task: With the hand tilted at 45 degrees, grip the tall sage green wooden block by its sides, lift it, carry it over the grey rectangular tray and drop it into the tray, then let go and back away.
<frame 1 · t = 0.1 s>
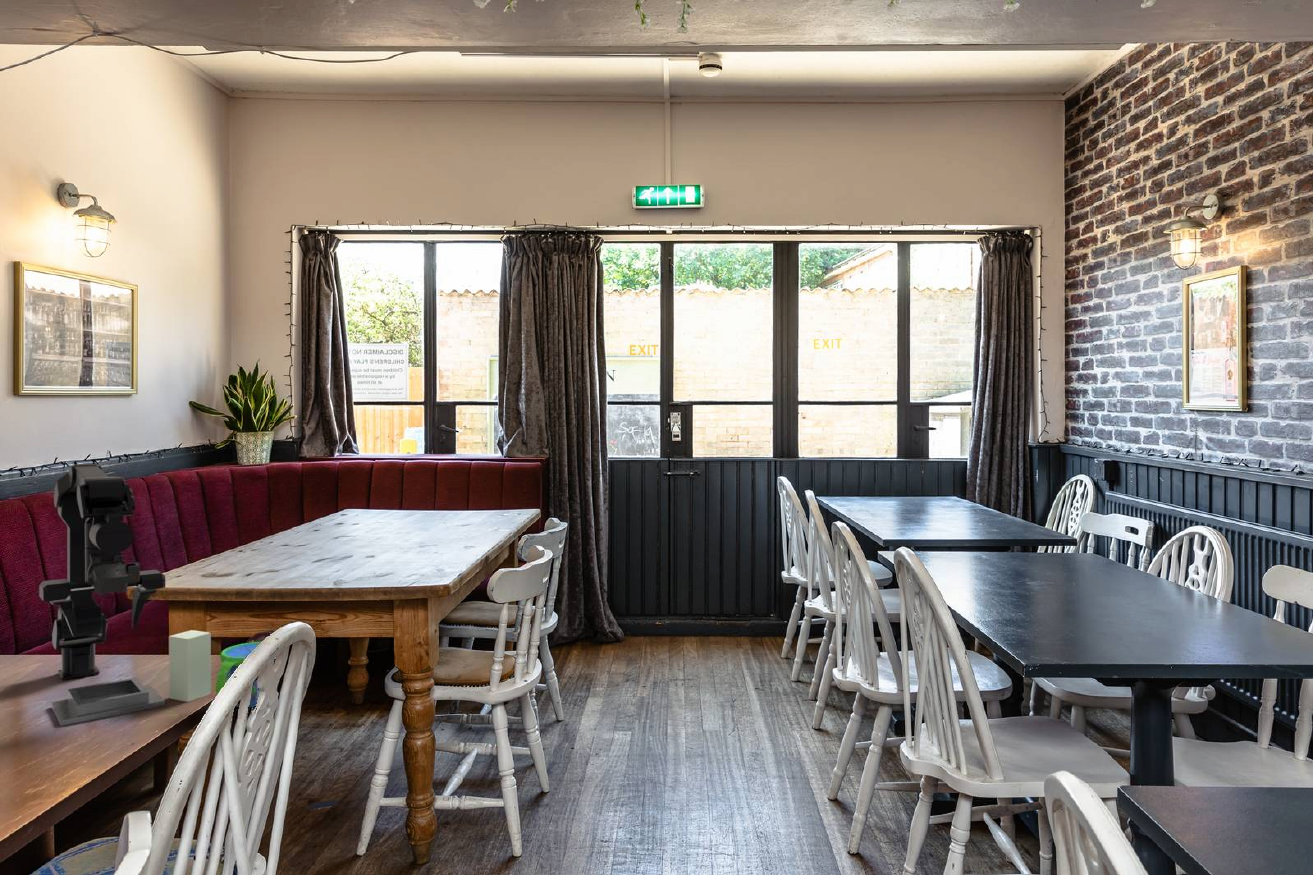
hand: (104, 631, 155), 15 cm above the table, tool pointing down, fingers open, 9 cm apart
sage block: (190, 696, 164), on the table
snack cup: (252, 703, 161), on the table
icecream: (264, 662, 187), on the table
grey rectangular tray: (108, 706, 158), on the table
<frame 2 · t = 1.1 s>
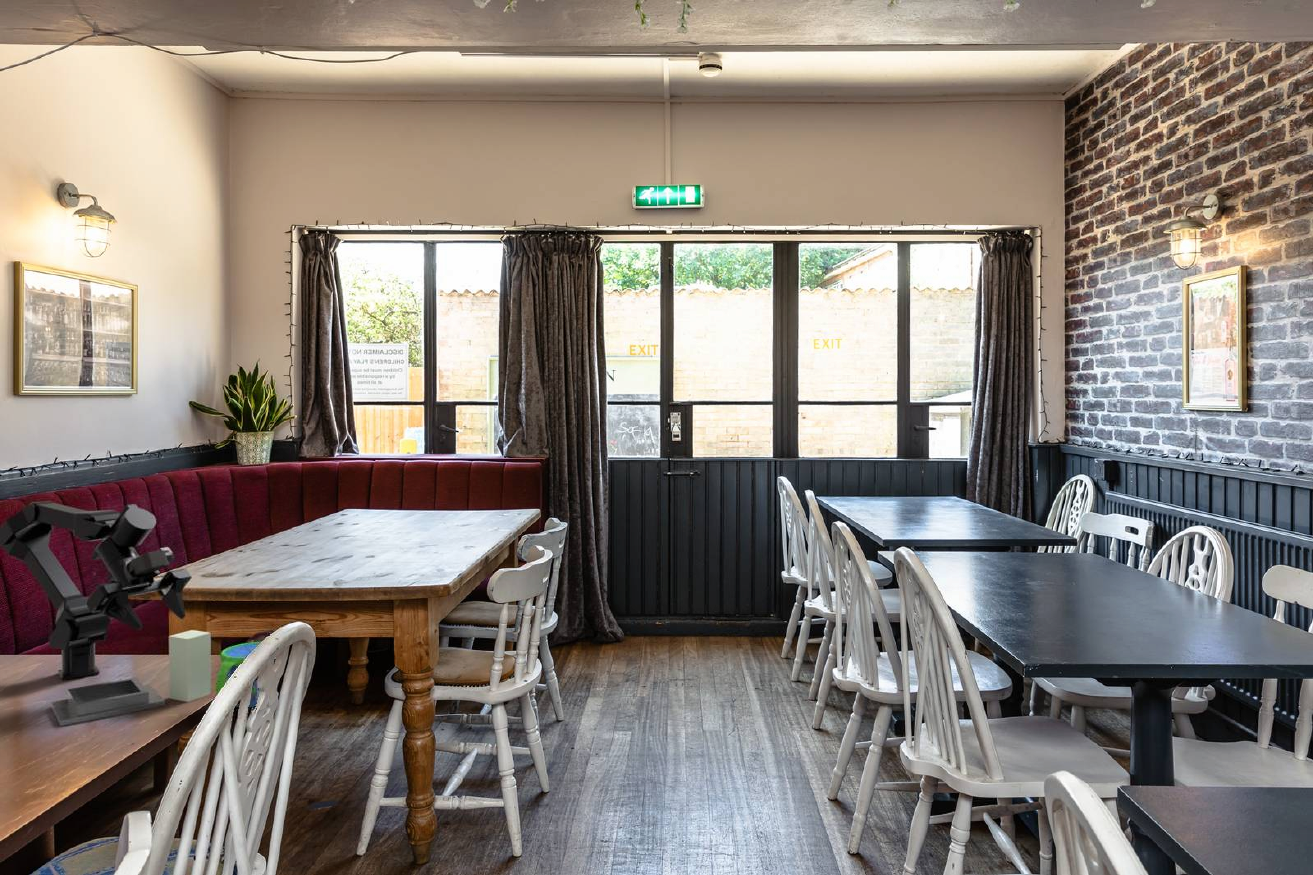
hand: (162, 623, 167), 13 cm above the table, tool tilted 45°, fingers open, 9 cm apart
nothing on the table moved.
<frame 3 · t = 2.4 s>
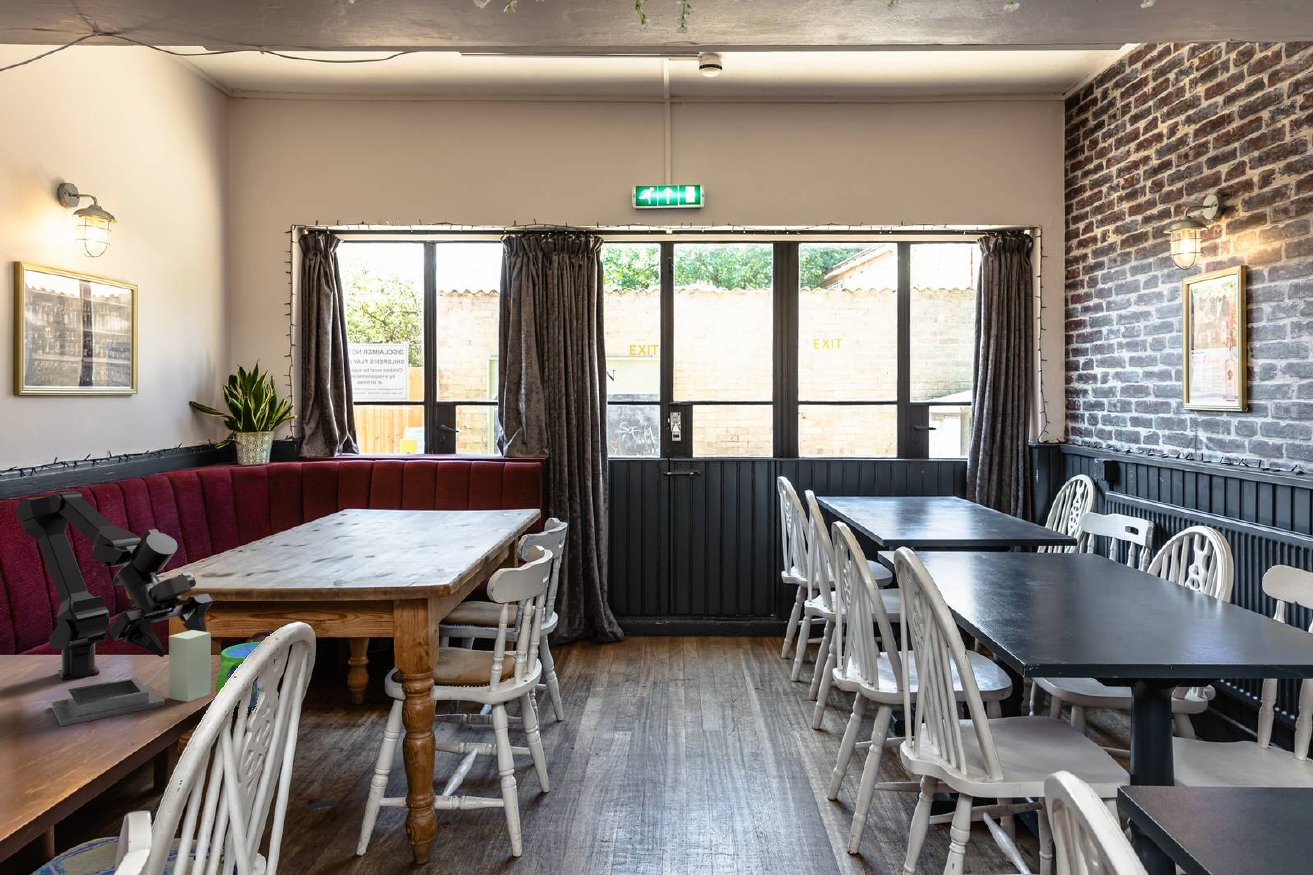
hand: (185, 649, 164), 9 cm above the table, tool tilted 45°, fingers open, 9 cm apart
nothing on the table moved.
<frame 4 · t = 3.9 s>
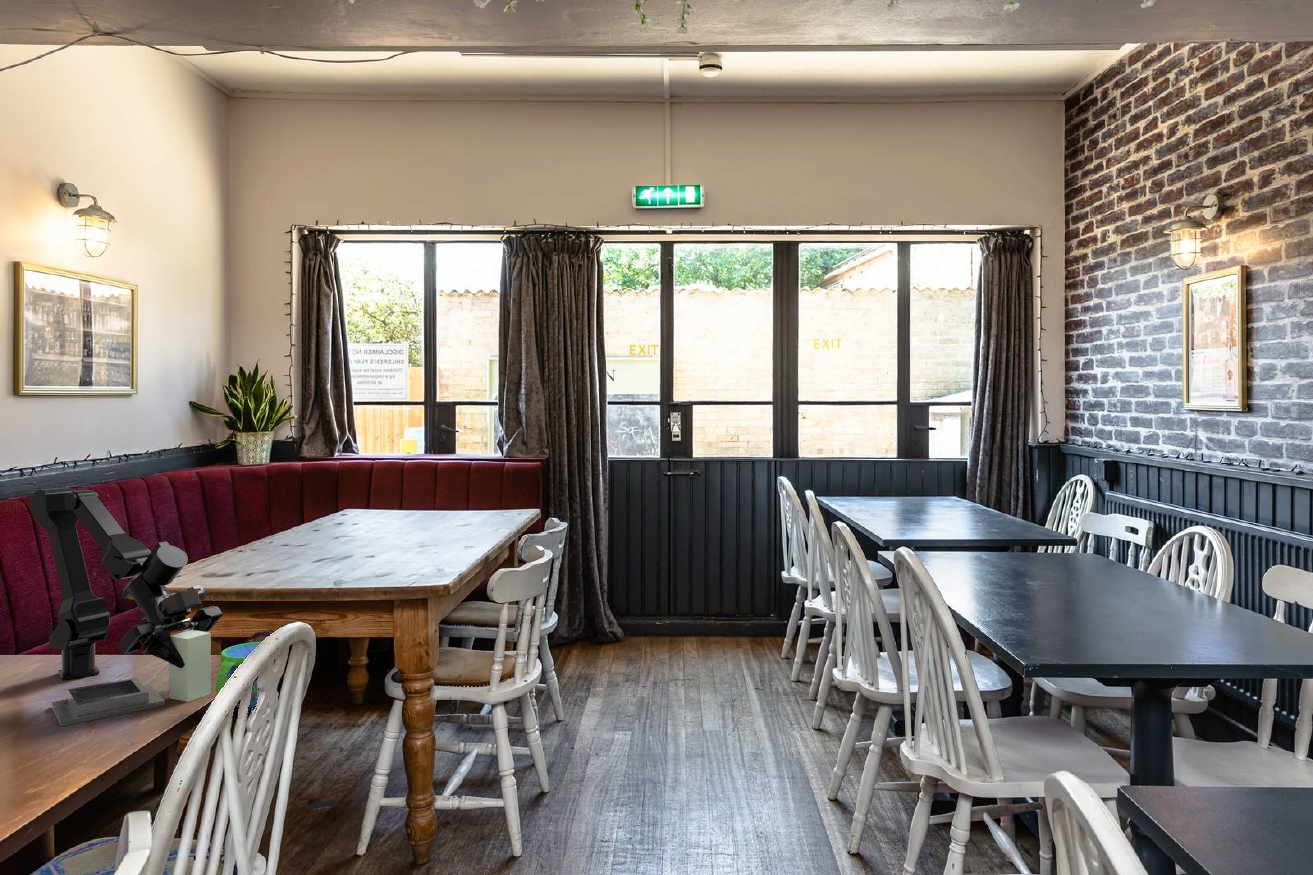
hand: (195, 663, 163), 7 cm above the table, tool tilted 45°, fingers closed on sage block, 5 cm apart
sage block: (190, 696, 164), on the table, touching gripper
everything else where it was.
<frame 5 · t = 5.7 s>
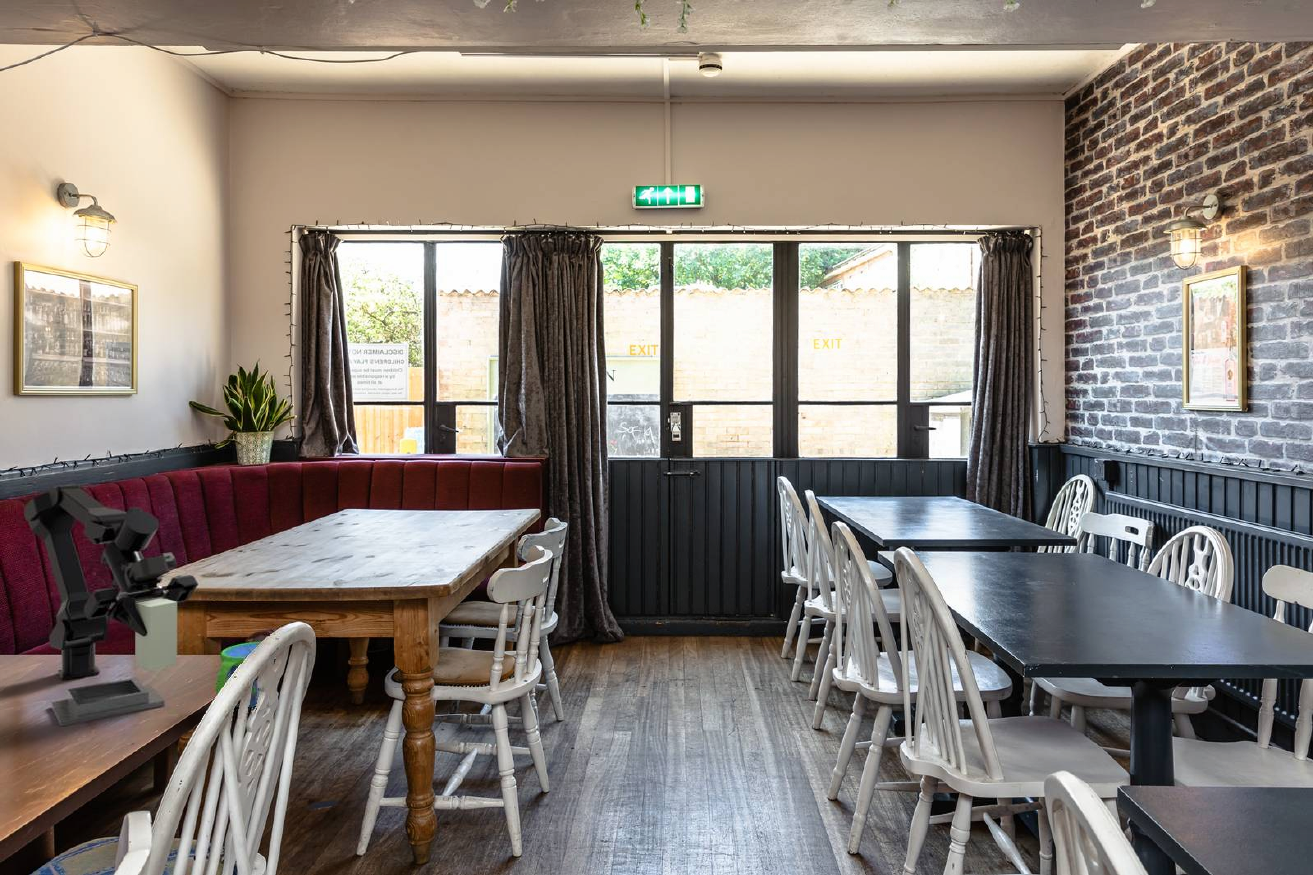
hand: (160, 632, 160), 13 cm above the table, tool tilted 45°, fingers closed on sage block, 5 cm apart
sage block: (156, 665, 161), point 7 cm above the table, touching gripper
when the fingers open (10 cm above the table, at t = 7.6 s): sage block drops 2 cm, resting on grey rectangular tray.
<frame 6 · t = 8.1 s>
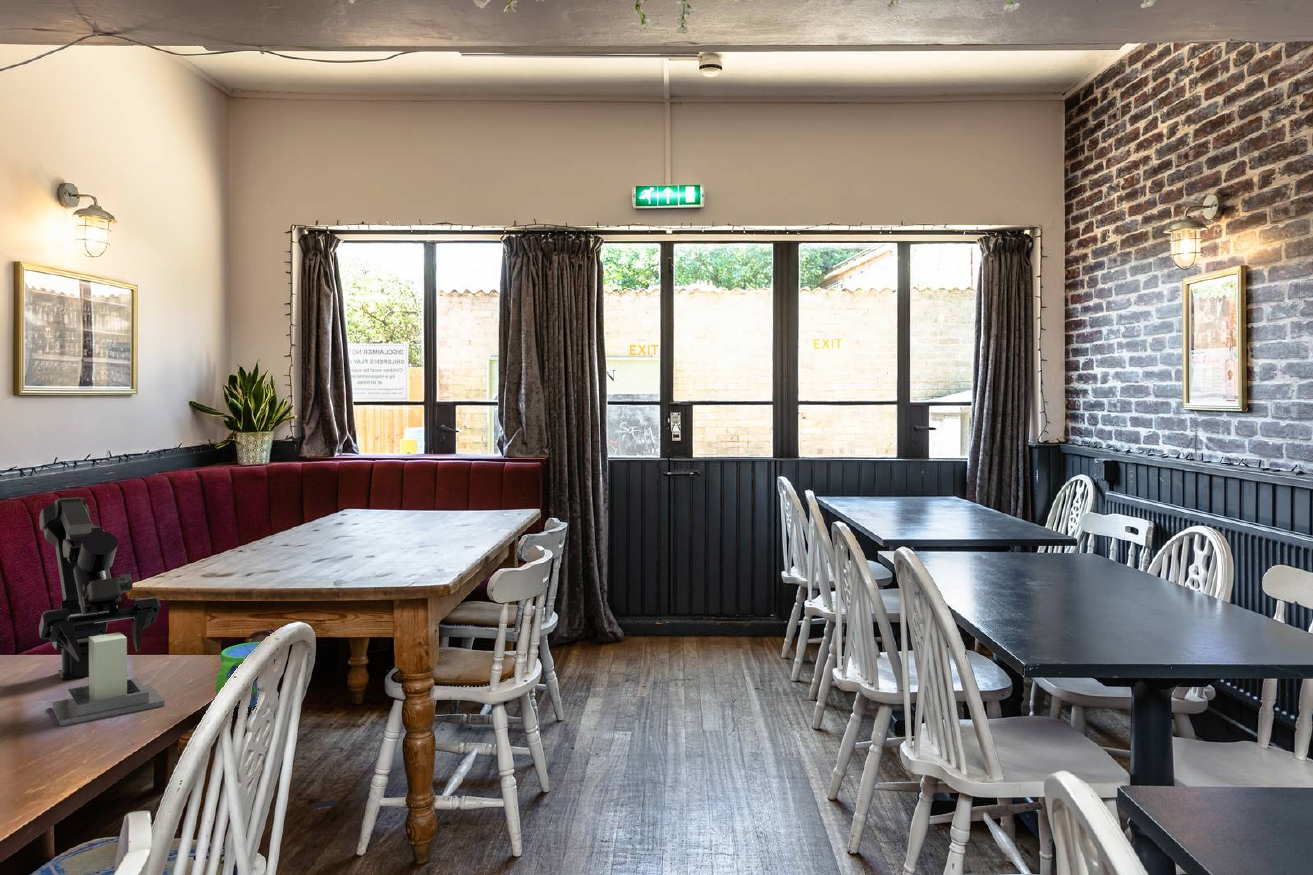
hand: (109, 655, 156), 10 cm above the table, tool tilted 45°, fingers open, 9 cm apart
sage block: (108, 701, 158), point 1 cm above the table, touching grey rectangular tray
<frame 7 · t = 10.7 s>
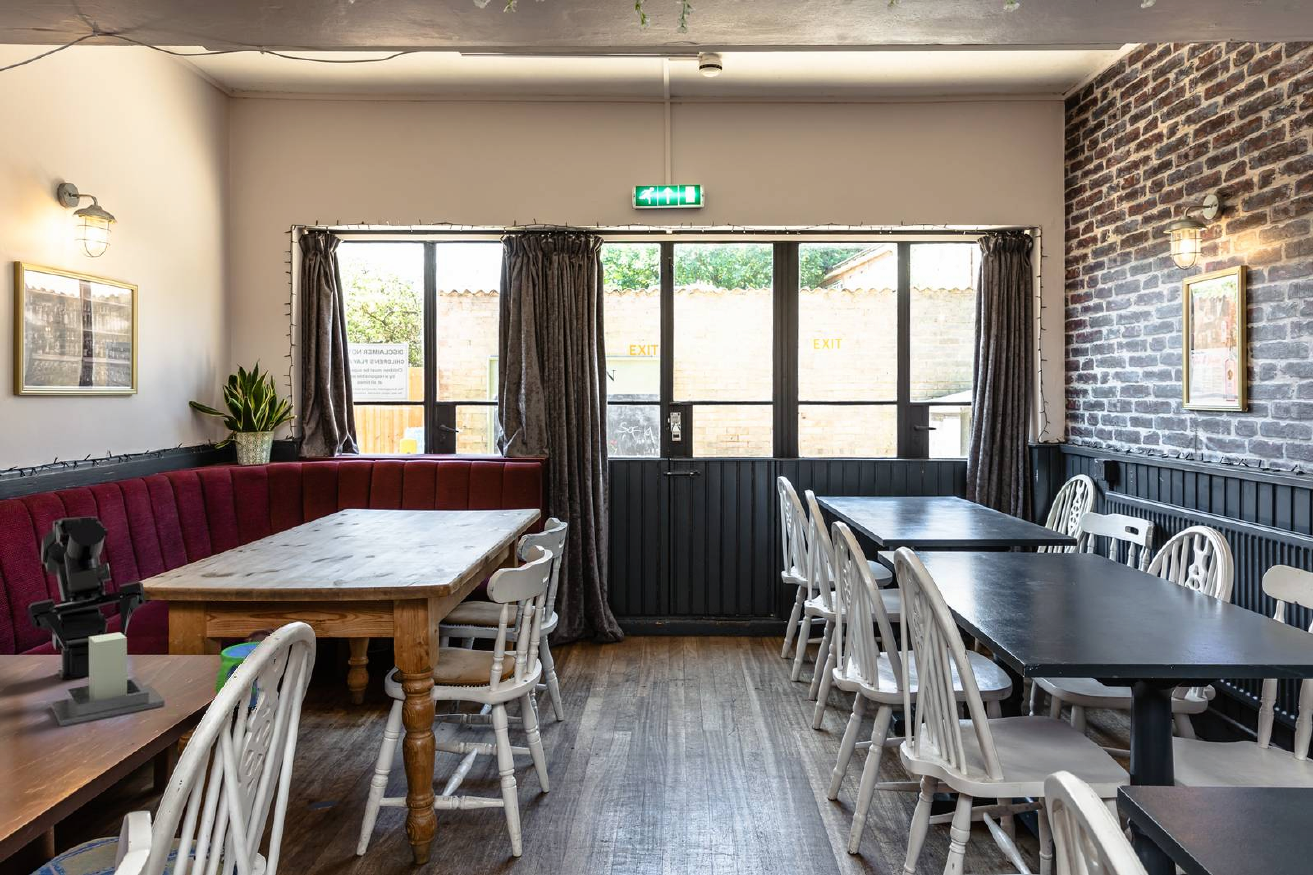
hand: (95, 643, 163), 10 cm above the table, tool tilted 40°, fingers open, 9 cm apart
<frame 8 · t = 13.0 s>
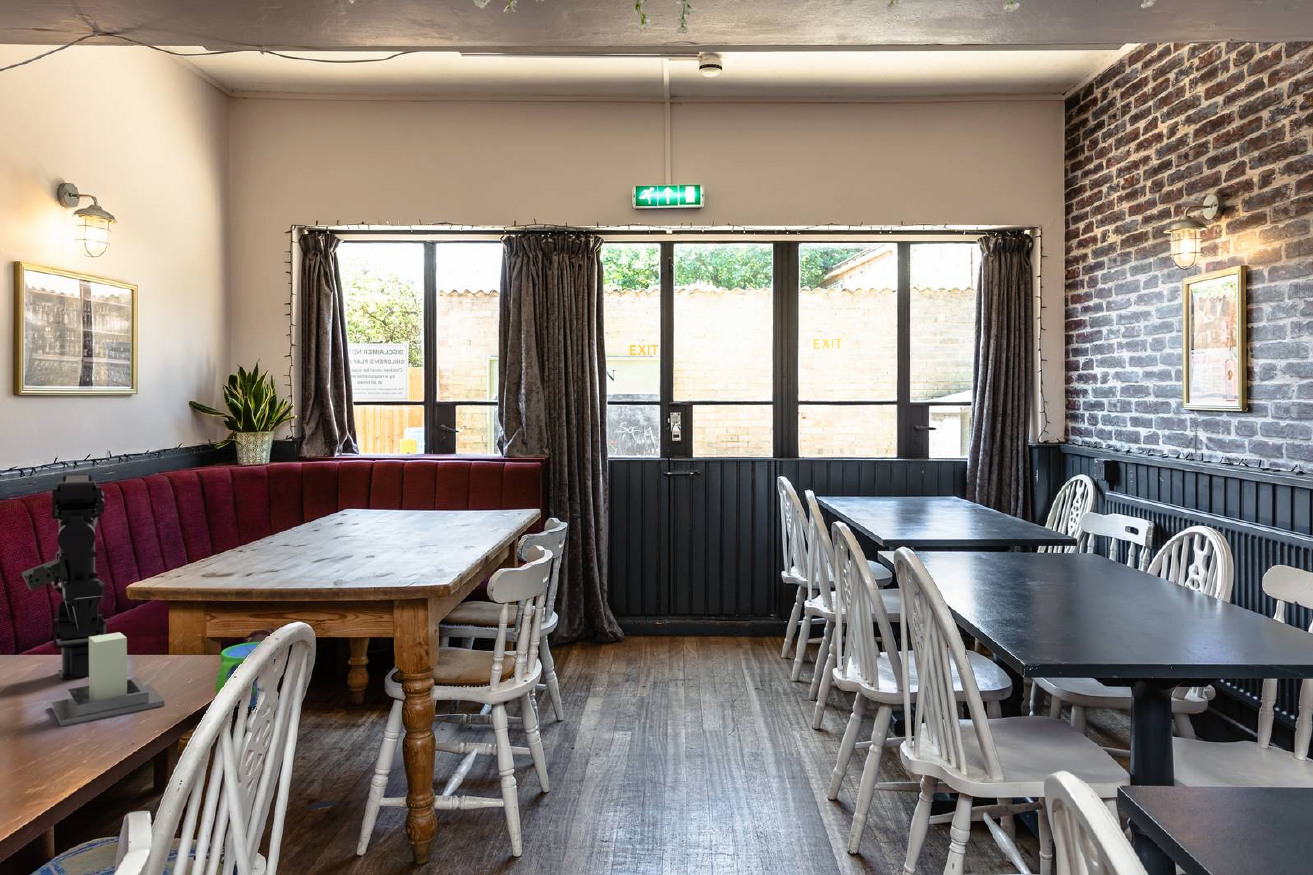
hand: (77, 626, 164), 13 cm above the table, tool pointing down, fingers open, 9 cm apart
at the end: sage block 0.0 cm off-centre on the grey rectangular tray, point 1.0 cm above the grey rectangular tray's base; sage block tilted 0°; the gripper is holding nothing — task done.
